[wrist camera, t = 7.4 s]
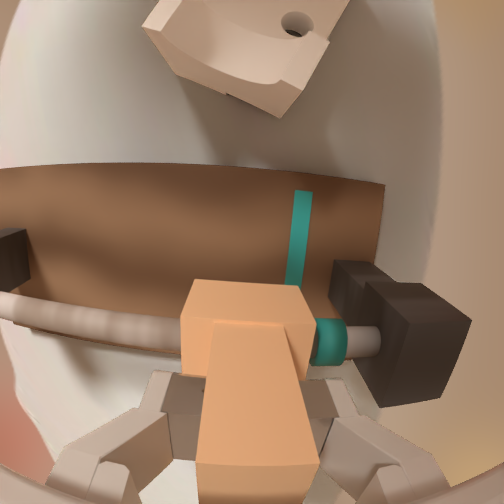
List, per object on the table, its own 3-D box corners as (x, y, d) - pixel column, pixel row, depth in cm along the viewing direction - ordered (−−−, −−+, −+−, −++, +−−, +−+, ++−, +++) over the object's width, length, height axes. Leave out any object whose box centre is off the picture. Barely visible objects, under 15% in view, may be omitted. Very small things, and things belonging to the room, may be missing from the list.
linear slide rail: (9, 168, 17) (-103, 183, 6) (375, 183, 18) (498, 205, 8) (23, 316, 20) (-57, 387, 9) (345, 349, 21) (404, 460, 11)
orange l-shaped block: (194, 278, 12) (133, 449, 4) (297, 285, 12) (376, 452, 4) (194, 349, 13) (158, 522, 5) (287, 354, 13) (329, 524, 5)
